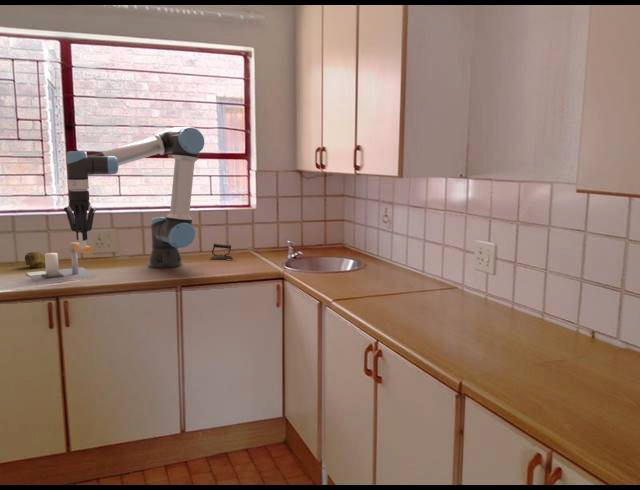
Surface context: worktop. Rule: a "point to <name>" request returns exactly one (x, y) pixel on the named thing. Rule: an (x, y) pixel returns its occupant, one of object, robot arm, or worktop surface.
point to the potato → (35, 260)
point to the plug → (51, 264)
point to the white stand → (66, 272)
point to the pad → (36, 273)
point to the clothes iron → (221, 257)
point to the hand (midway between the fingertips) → (82, 248)
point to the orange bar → (75, 247)
